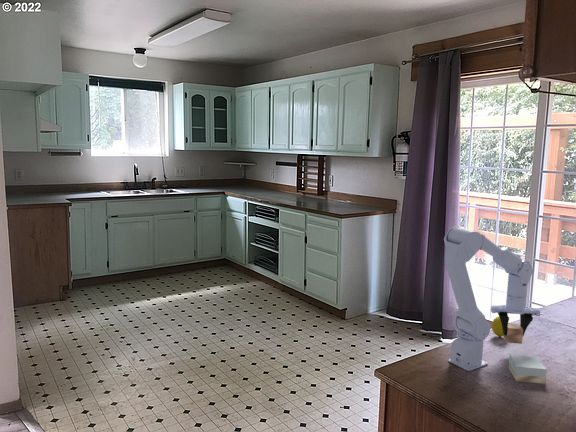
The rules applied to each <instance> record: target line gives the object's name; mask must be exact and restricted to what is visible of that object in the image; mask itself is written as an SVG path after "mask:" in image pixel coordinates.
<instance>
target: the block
mask: <svg viewBox="0 0 576 432" xmlns="http://www.w3.org/2000/svg"><path fill="white" fill-rule="evenodd" d="M503 338H504V340H505V341H506V343H507V344H519V345H521V344H523V339H524V338H523V328H522V327H521V326H520V323H509V322H508V327H507V335H504V336H503Z"/></svg>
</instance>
